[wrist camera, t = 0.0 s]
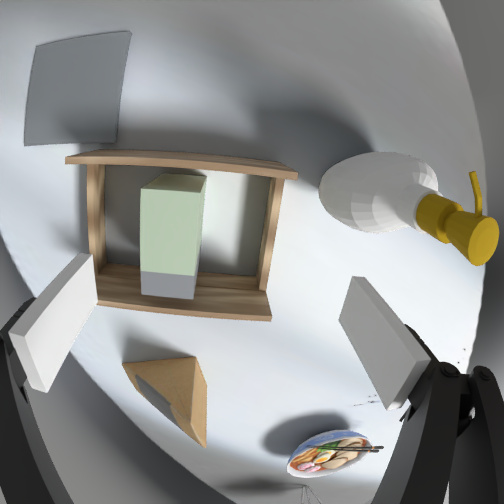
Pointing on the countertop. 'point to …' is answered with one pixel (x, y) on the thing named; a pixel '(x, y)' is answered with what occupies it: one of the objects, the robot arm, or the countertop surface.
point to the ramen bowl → (329, 453)
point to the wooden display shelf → (207, 284)
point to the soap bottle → (405, 202)
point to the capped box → (171, 234)
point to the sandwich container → (174, 391)
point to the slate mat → (76, 90)
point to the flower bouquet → (308, 494)
